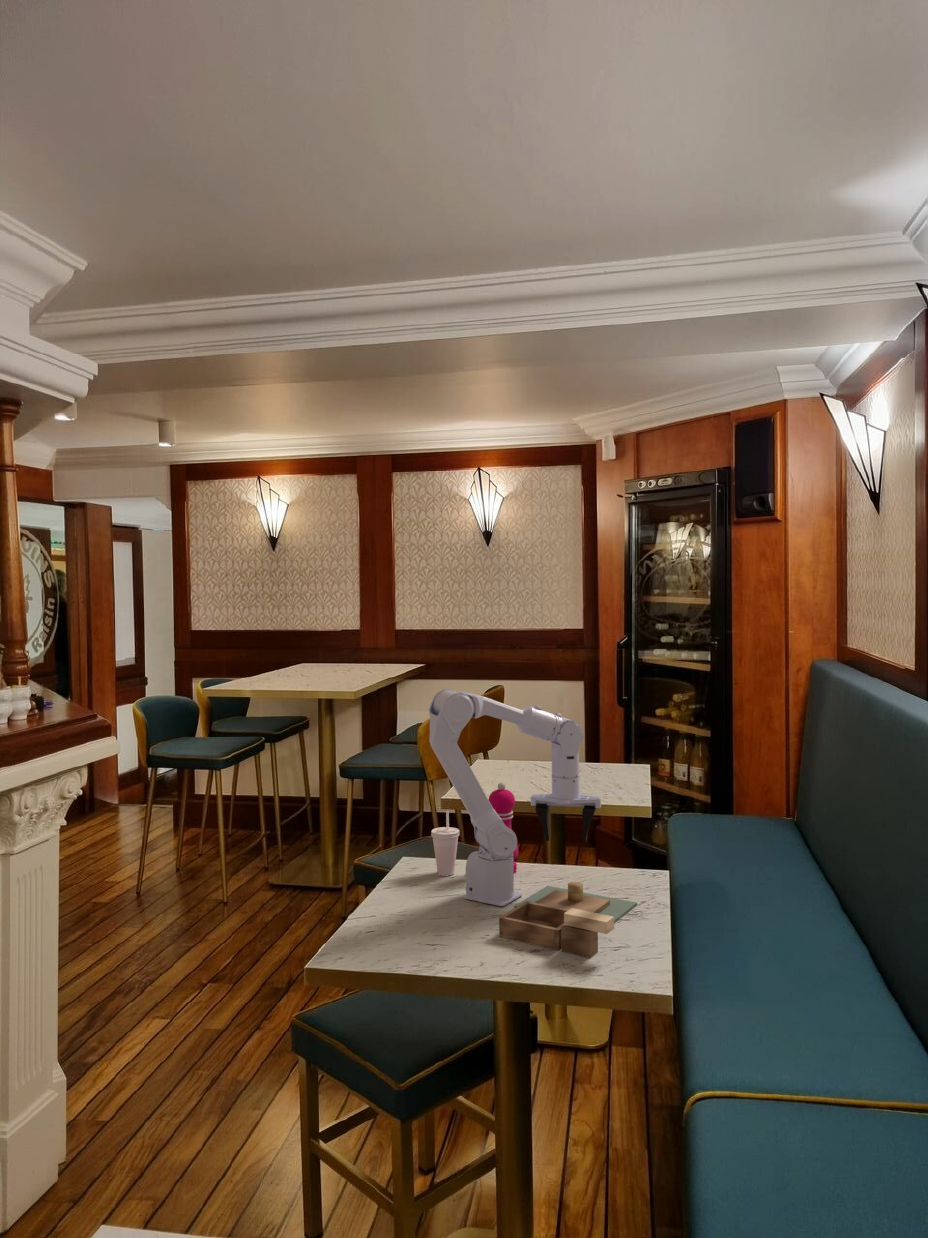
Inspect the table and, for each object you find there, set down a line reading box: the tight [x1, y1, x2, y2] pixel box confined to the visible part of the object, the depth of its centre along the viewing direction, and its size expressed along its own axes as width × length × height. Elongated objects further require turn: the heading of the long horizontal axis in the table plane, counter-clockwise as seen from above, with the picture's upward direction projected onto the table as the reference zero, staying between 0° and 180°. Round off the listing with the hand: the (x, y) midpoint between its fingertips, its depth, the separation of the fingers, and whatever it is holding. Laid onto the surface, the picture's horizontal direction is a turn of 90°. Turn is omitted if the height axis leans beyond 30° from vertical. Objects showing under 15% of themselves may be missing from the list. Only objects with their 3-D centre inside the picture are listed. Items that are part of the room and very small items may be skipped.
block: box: [564, 908, 615, 935], centre depth 149 cm, size 8×3×2 cm, turn 57°
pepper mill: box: [488, 782, 519, 873], centre depth 195 cm, size 7×7×20 cm
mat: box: [513, 885, 638, 924], centre depth 172 cm, size 20×14×1 cm
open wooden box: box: [498, 901, 599, 959], centre depth 156 cm, size 18×10×4 cm, turn 57°
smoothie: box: [430, 810, 460, 877], centre depth 194 cm, size 6×6×14 cm
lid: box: [535, 881, 610, 914], centre depth 170 cm, size 12×10×4 cm
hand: (566, 840), depth 181 cm, fingers open, 7 cm apart
